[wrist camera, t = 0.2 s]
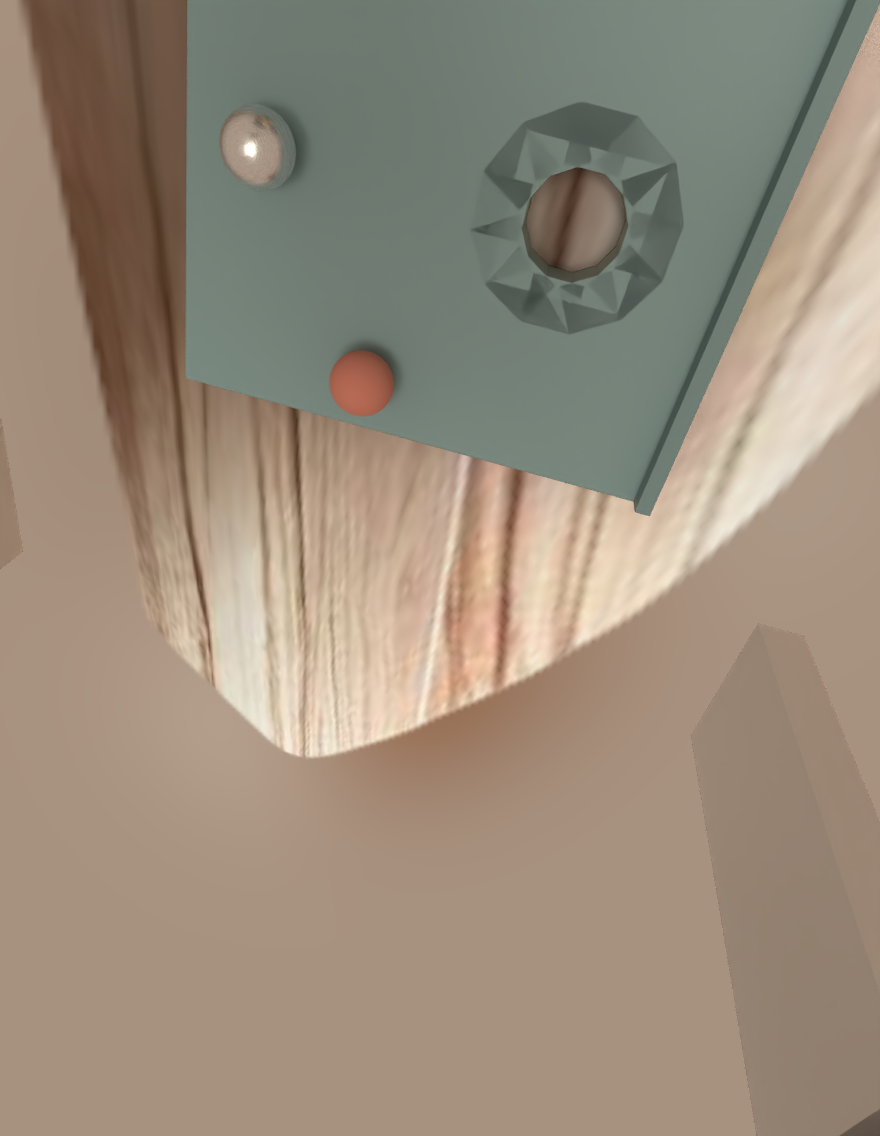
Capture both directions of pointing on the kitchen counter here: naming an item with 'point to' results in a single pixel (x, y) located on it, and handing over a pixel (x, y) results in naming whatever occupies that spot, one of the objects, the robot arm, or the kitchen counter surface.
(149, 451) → the kitchen counter surface
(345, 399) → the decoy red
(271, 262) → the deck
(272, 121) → the steel ball
